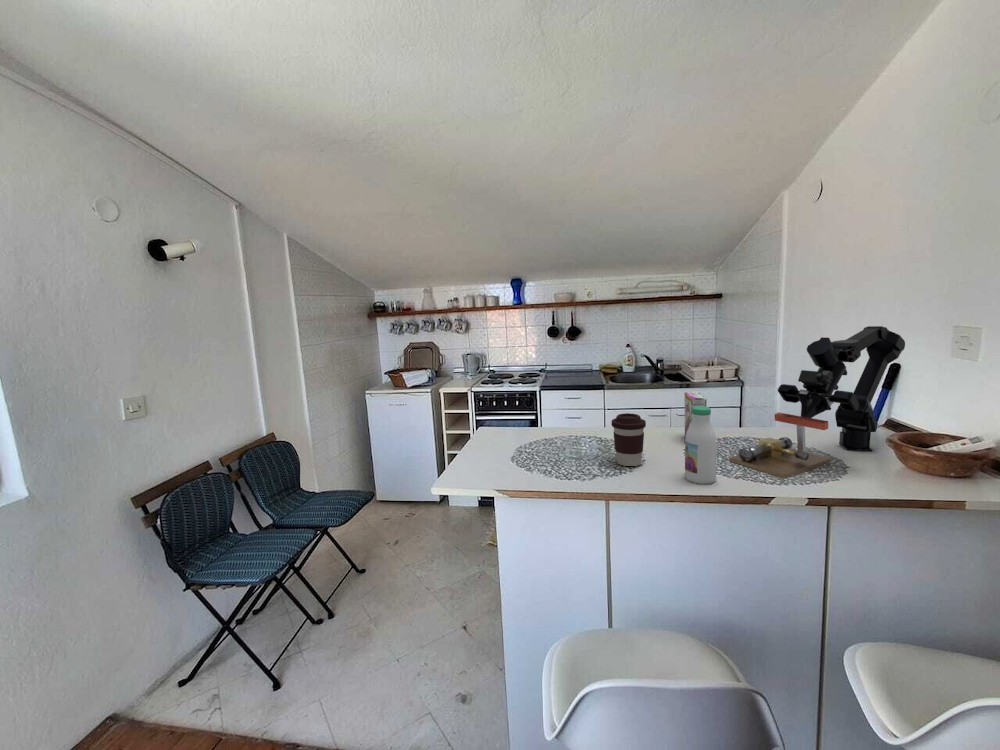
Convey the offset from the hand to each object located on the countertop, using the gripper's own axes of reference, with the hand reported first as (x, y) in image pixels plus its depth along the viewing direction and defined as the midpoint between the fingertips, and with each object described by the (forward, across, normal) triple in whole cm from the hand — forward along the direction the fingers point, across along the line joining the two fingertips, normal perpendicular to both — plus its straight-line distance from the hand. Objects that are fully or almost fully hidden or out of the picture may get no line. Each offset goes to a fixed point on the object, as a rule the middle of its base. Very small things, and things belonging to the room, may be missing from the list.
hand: (802, 420), depth 119 cm
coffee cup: (+36, -28, -17) cm, 49 cm away
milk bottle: (+31, -8, -12) cm, 35 cm away
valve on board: (+10, -5, +8) cm, 14 cm away
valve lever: (+8, 0, +9) cm, 11 cm away
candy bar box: (+12, -32, +7) cm, 35 cm away
